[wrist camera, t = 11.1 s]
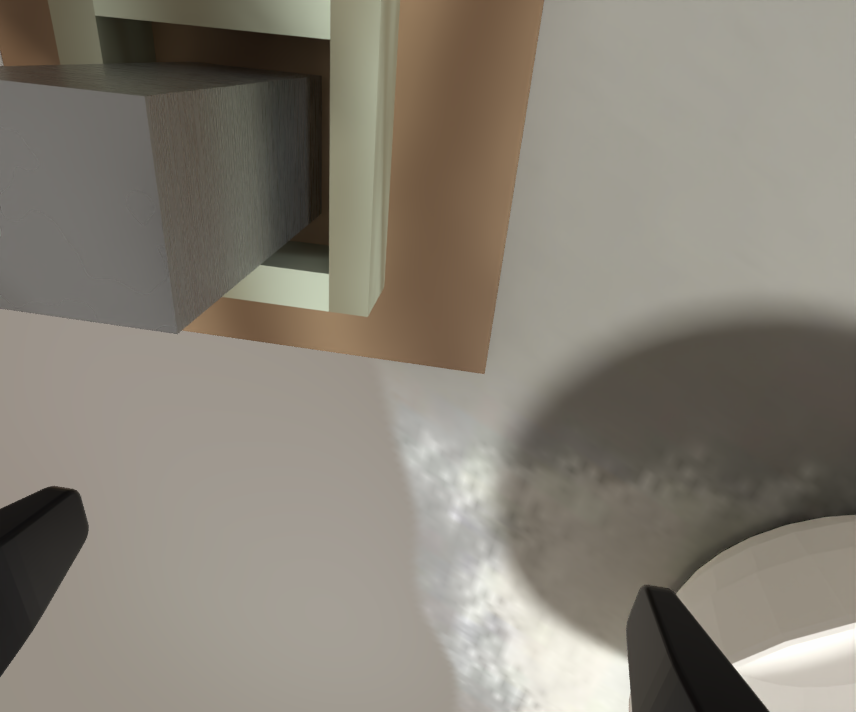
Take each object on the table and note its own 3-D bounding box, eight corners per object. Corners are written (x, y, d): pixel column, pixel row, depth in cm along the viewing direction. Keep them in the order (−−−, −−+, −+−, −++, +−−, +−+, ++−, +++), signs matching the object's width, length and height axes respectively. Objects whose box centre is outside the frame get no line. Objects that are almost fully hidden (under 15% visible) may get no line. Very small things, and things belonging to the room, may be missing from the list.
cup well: (561, -118, 14) (574, -164, 11) (485, 360, 21) (480, 412, 18) (-23, -164, 16) (-153, -217, 13) (81, 303, 22) (12, 342, 19)
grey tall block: (321, 75, 16) (143, 95, 8) (322, 213, 18) (177, 333, 10) (189, 61, 17) (-101, 69, 9) (203, 198, 19) (-25, 304, 11)
